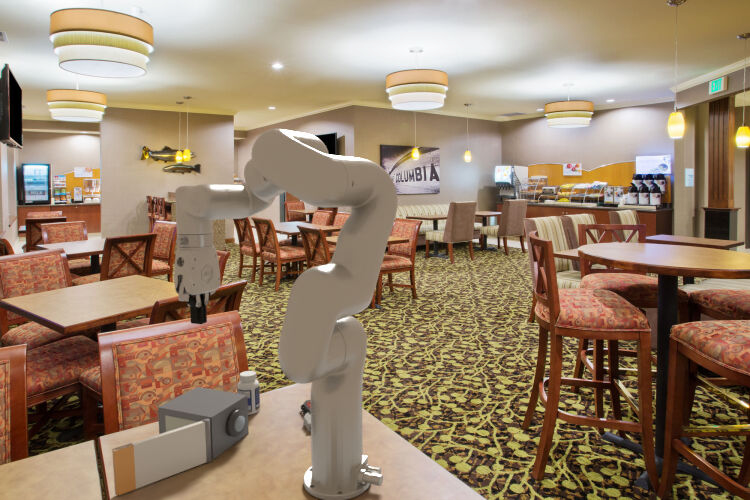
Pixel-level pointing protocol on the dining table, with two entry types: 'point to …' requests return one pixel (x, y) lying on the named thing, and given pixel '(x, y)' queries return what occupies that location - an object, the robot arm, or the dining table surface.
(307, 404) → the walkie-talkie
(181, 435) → the side door
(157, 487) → the dining table surface
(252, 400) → the pill bottle
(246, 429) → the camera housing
